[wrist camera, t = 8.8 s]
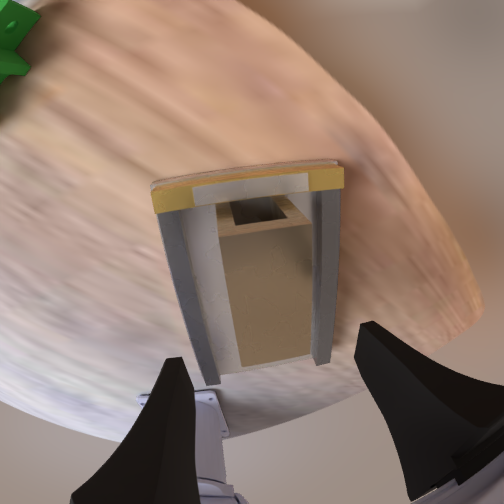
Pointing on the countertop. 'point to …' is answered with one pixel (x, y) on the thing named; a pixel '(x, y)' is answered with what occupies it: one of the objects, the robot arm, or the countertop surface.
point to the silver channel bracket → (210, 260)
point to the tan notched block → (268, 282)
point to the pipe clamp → (14, 36)
